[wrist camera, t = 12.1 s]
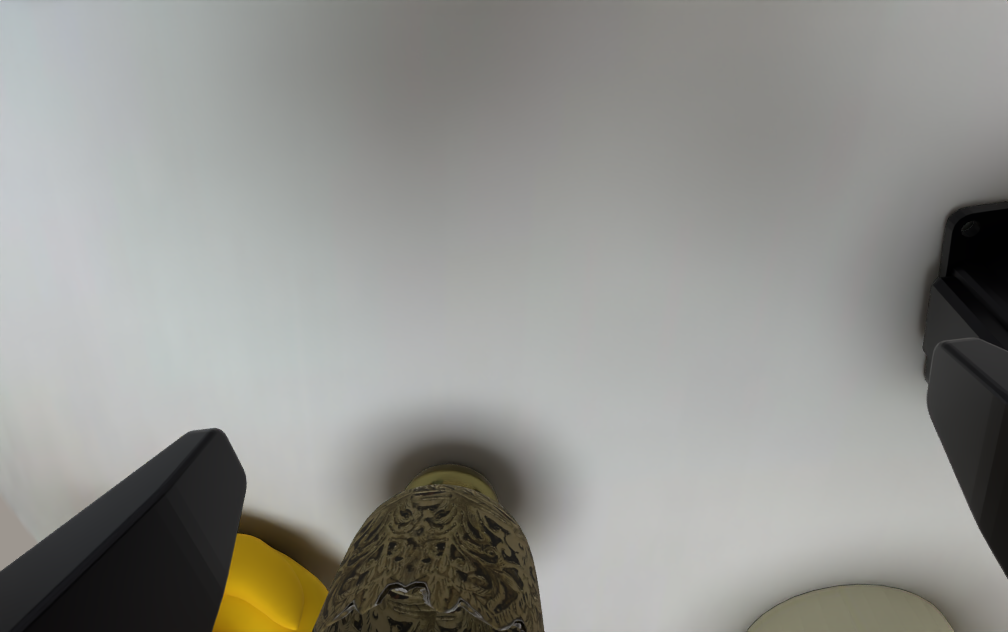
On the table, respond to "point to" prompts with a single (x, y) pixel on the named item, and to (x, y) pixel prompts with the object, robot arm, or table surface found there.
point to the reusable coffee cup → (854, 612)
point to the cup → (436, 563)
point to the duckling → (268, 591)
